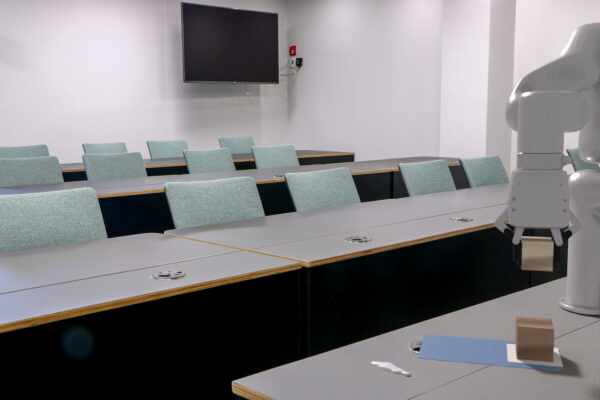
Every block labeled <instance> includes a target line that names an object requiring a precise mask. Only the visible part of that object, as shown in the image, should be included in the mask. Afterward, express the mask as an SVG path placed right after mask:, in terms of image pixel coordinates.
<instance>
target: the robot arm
mask: <svg viewBox="0 0 600 400" xmlns="http://www.w3.org/2000/svg"><path fill="white" fill-rule="evenodd" d="M504 114H505V115H504V116H505V121H506V124H507V126H508V128H510V130H512V131H514V132H517V134H516V135H517V138H516V139H517V141H516V169H513V170H511V173H510V177H509V178H510V179H509V182H508V184H509V185H508V192H507V202H506V203H507V205H506V207H505V209H504V210H503V211H502V212H501V213H500V215H498V216H497V218H496V219H495V220H494V221H493V226H494V227H495V228H497V229H498V230H499V231H500V232H502V233H503V234H504V235H505V237H507V238H508V239H509V240H510V241H511V242H512V244H513V251H512V253H513V257H512V259H513V262H516V264H517V267H518V268H521V266H522V243H521V236H523V232H524V231H525V230H524V229H541V230H542V229H544V230H546V229H547V230H550V231H551V234H552V238H553V239H552V241H553V243H554V245H553V270H554V269H555V270H556V269H557V264H560V263H561V249H562V248H561V246H563V244H564V243H566V242H567V241H568V242H567V243H568V245H567V247H568V248H567V270H566V271H567V273H566V275H567V276H566V295H564V296H562V297H560V298H559V300H558V305H559V306H560V307H561V308H562V309H563V310H566V311H569V312H571V313H576V314H582V315H590V316H600V169H597V168H596V169H595V168H593V169H592V168H590V169H588V168H587V169H580V170H577V171H575V172H573V173H572V174H570V175H569V177H568V172H567V170H563V169H564V167H565V166H568V165H573V156H568V155H566V154H565V153H564V143H565V134H567V133H568V134H569V133H570V134H571V133H577V132H578V131H579V132H578V133H579V134H578V142H577V145H578V146H577V149H578V150H577V151H578V153H577V154H578V156H579V158H580V159H581V160H582V162H585V163H588V164H596V165H600V22H599V21H598V22H591V23H586V24H583V25H580V26H578V27H576V28H575V29H574V30H573V31H572V32H571V34H570V35H569V37H568V38H567V40H566V42H565V43H564V46H563V47H562V49H561V51H560V52H559V54H558V56H557V58H556V59H554V60H551V61H549V62H548V63H546V64H544V65H541V66H540V67H538V68H536V69H534V70H531V72H529V73H527V74H526V75H524V76H523V77H521V78H520V80H519V81H518V82H517V84H516V85H515V87H514V89H513V90H512V92H511V94H510V96H509V98H508V101H507V103H506V106H505V113H504ZM506 221H507V222H508V224H509V225H510V226H511V227H513V228H514V230H512V229H511V228H510V227H509V226H508V225H506V224H505V222H506ZM565 228H566V229H565ZM562 229H564V230H563V231H561V230H562Z"/></svg>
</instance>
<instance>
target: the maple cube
mask: <svg viewBox="0 0 600 400" xmlns="http://www.w3.org/2000/svg"><path fill="white" fill-rule="evenodd" d="M521 243H522V266H521V267H520V269H521V271H539V272H540V271H542V272H554V271H553V270H554V269H553V245H554V243H553V239H552V237H549V236H548V237H546V236H525V235H524V236H523V235H522V236H521Z"/></svg>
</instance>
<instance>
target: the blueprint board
mask: <svg viewBox="0 0 600 400" xmlns="http://www.w3.org/2000/svg"><path fill="white" fill-rule="evenodd" d="M515 342H516V340H515V341H514V340H505V339H503V340H502V339H491V338H490V339H489V338H478V337H467V336H456V335H455V336H452V335H442V334H441V335H439V334H431V333H430V334H429V333H427V334H426V333H424V336H423V338H422V343H421V345H420V348H419V352H418V355H417V359H421V360H431V361H443V362H452V363H455V362H456V363H462V364H463V363H465V364H473V365H474V364H475V365H485V366H497V367H509V368H516V369H517V368H518V369H529V370H541V371H552V372H562V368H564V365H563V361H562V358H561V354H560V352H559V348H558V347H555V346H554V354H553V362H545V361H533V360H521V359H517V356H516V348H515Z"/></svg>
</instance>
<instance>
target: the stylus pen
mask: <svg viewBox="0 0 600 400" xmlns="http://www.w3.org/2000/svg"><path fill="white" fill-rule="evenodd" d="M371 364H372V365H374V366H377V368H378V369H379V370H383V371H387V372H391V373H393V374H400V375H403V376H404V377H405V376H406V377H408V376H410V375H411V372H410V371H406V370H404V369H403V368H400V367H398V366H396V365H394V364H393V363H391V362H388V361H373V360H372V361H371Z"/></svg>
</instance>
